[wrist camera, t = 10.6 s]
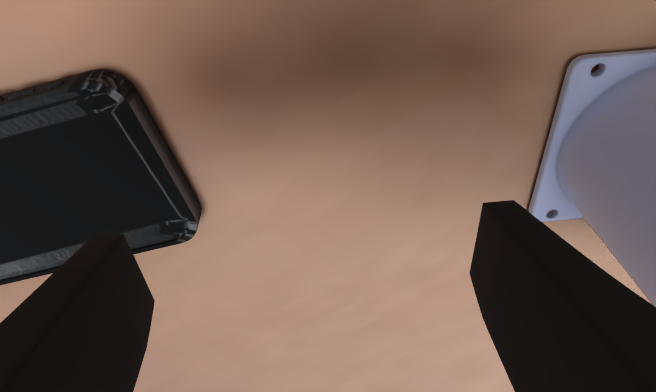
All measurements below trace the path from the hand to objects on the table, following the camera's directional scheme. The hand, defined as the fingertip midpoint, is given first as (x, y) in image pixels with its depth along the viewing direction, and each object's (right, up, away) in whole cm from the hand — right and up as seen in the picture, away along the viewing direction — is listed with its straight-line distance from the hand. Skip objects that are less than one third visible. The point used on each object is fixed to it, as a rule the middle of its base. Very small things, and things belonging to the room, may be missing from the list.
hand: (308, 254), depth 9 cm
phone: (-13, +1, +10) cm, 17 cm away
